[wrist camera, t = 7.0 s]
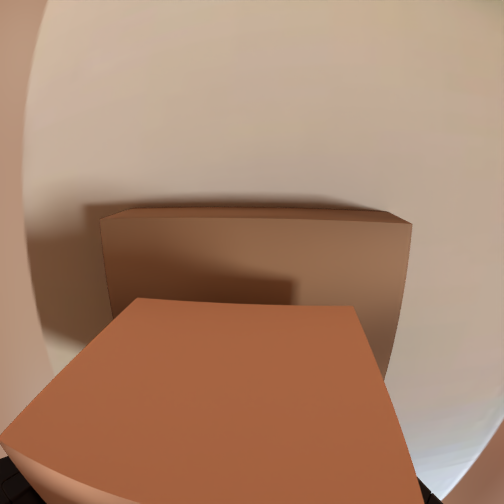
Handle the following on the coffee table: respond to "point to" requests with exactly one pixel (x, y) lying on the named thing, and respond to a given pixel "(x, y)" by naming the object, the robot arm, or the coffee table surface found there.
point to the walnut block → (263, 260)
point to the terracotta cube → (217, 412)
